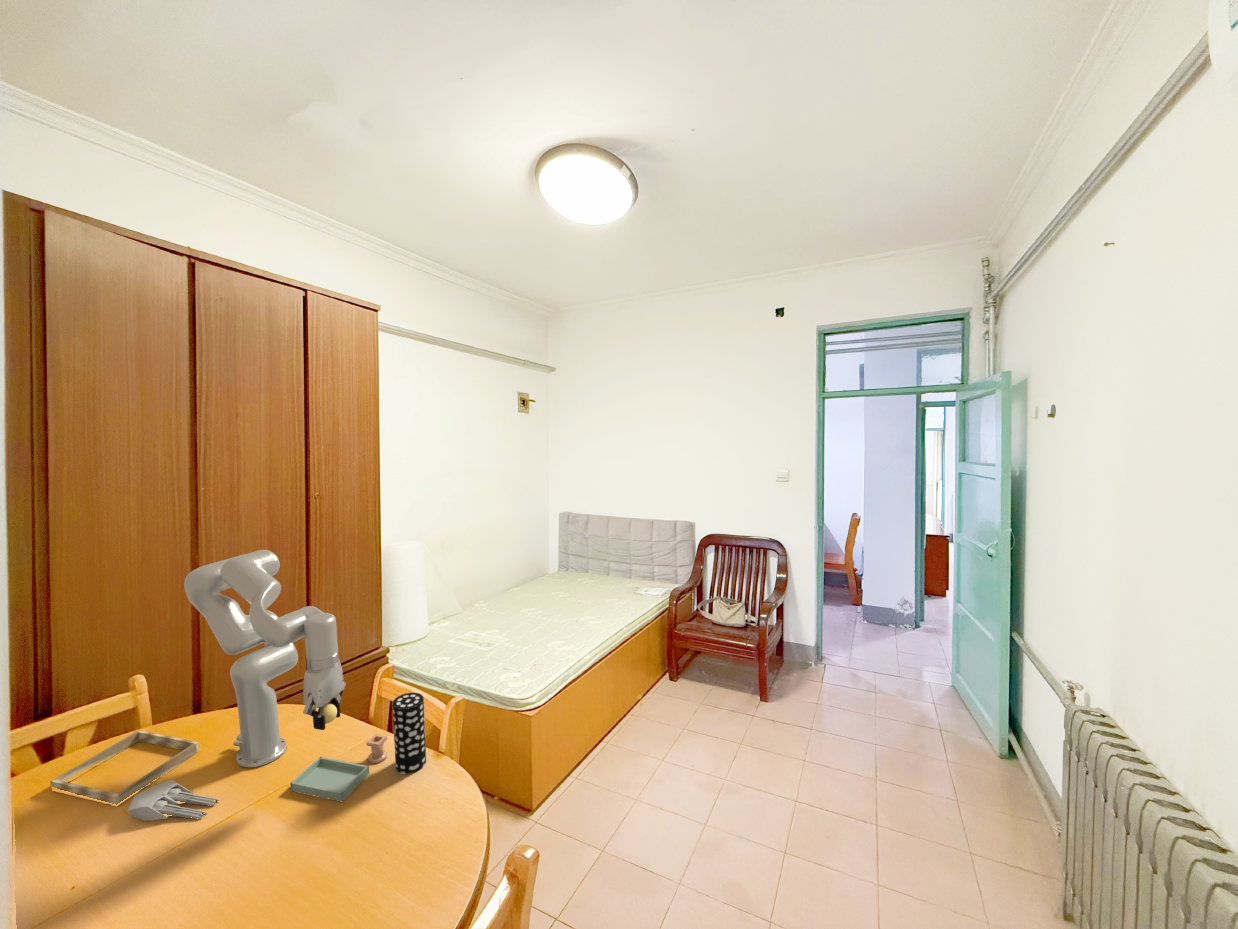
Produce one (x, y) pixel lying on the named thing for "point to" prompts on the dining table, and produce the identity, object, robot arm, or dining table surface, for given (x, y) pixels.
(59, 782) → the frame
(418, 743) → the white-spotted black cylinder
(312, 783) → the tray
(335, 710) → the ball
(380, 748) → the egg cup
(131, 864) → the dining table surface
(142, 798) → the turret
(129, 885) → the dining table surface
